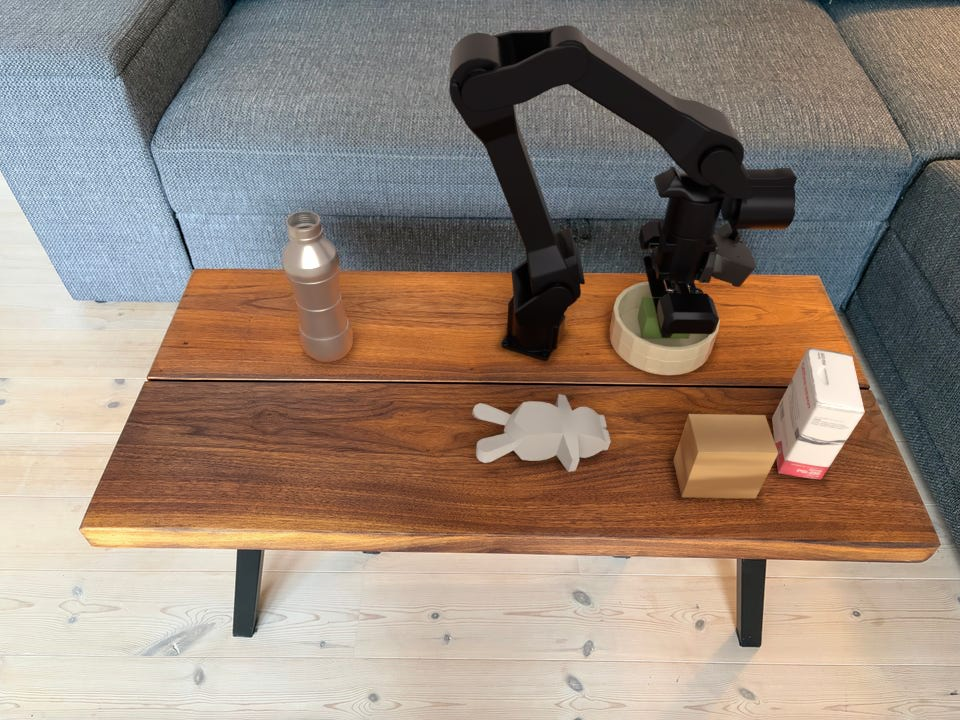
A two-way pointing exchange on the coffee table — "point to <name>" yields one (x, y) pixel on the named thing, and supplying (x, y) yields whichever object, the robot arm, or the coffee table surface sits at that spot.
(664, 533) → the coffee table surface
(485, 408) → the bunny figurine
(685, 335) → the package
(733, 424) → the block
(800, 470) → the ink box
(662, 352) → the bowl
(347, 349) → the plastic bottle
